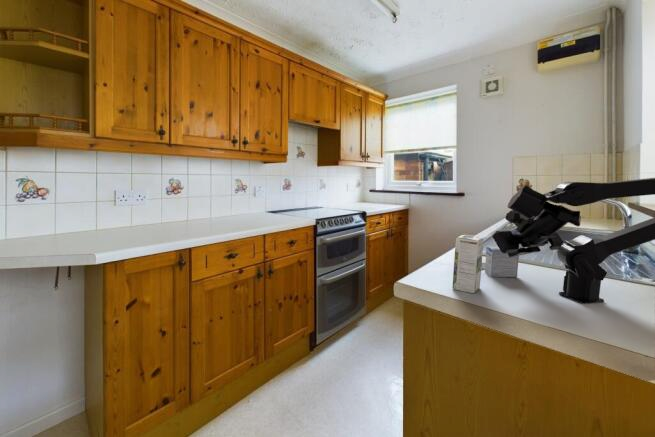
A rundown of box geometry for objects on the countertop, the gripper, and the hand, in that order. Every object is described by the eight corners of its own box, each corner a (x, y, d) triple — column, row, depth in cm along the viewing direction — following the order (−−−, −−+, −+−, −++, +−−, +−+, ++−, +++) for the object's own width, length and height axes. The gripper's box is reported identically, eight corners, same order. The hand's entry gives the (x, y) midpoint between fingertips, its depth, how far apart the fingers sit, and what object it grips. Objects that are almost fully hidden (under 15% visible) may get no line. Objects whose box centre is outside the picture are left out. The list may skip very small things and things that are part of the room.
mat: (497, 268, 101) (497, 267, 101) (470, 270, 99) (470, 269, 99) (484, 263, 107) (484, 262, 107) (458, 264, 106) (458, 264, 106)
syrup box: (458, 283, 87) (460, 233, 85) (480, 288, 83) (484, 236, 82) (452, 289, 83) (454, 237, 81) (475, 294, 79) (478, 239, 77)
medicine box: (510, 273, 96) (512, 246, 95) (517, 277, 92) (519, 249, 91) (484, 272, 97) (486, 246, 96) (490, 277, 93) (492, 249, 92)
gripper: (557, 200, 85) (521, 232, 97) (499, 201, 81) (470, 235, 93) (583, 232, 78) (541, 262, 90) (521, 236, 75) (487, 267, 87)
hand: (509, 255), depth 90 cm, fingers closed
